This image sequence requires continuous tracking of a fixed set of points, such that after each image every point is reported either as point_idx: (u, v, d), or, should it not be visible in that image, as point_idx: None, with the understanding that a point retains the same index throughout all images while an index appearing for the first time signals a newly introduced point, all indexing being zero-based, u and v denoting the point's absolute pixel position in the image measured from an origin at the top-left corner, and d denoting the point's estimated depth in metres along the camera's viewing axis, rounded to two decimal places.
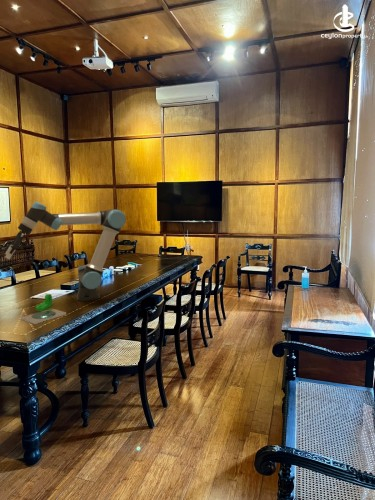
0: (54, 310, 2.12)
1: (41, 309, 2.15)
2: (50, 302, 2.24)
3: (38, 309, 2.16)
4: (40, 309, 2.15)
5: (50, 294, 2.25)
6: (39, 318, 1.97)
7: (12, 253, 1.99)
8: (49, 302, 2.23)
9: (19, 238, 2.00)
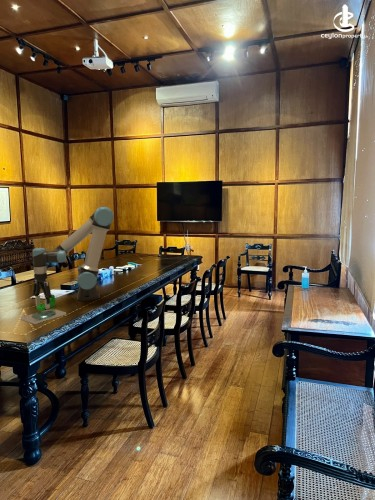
0: (54, 310, 2.12)
1: (40, 309, 2.15)
2: (52, 302, 2.24)
3: (38, 309, 2.16)
4: (39, 309, 2.15)
5: None
6: (39, 318, 1.97)
7: None
8: (51, 302, 2.22)
9: (47, 288, 2.15)
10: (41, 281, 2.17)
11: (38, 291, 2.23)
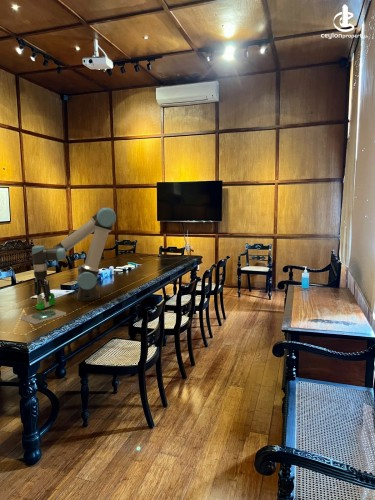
0: (54, 310, 2.12)
1: (39, 307, 2.16)
2: (52, 301, 2.24)
3: (37, 307, 2.17)
4: (38, 307, 2.16)
5: (52, 293, 2.24)
6: (39, 318, 1.97)
7: None
8: (50, 301, 2.23)
9: (47, 286, 2.16)
10: (41, 278, 2.17)
11: (39, 289, 2.22)
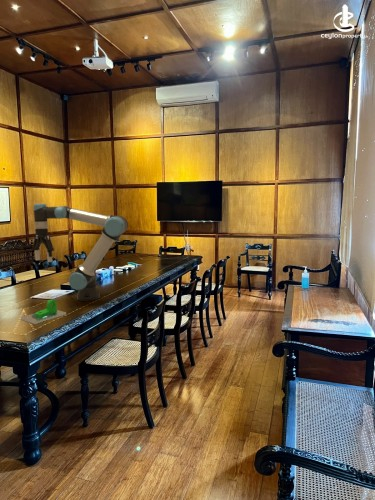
0: None
1: (39, 316, 1.98)
2: (53, 308, 2.05)
3: (36, 315, 1.99)
4: (38, 316, 1.98)
5: (54, 300, 2.05)
6: (39, 318, 1.97)
7: None
8: (51, 308, 2.04)
9: (48, 241, 2.19)
10: (42, 236, 2.21)
11: (38, 246, 2.27)
